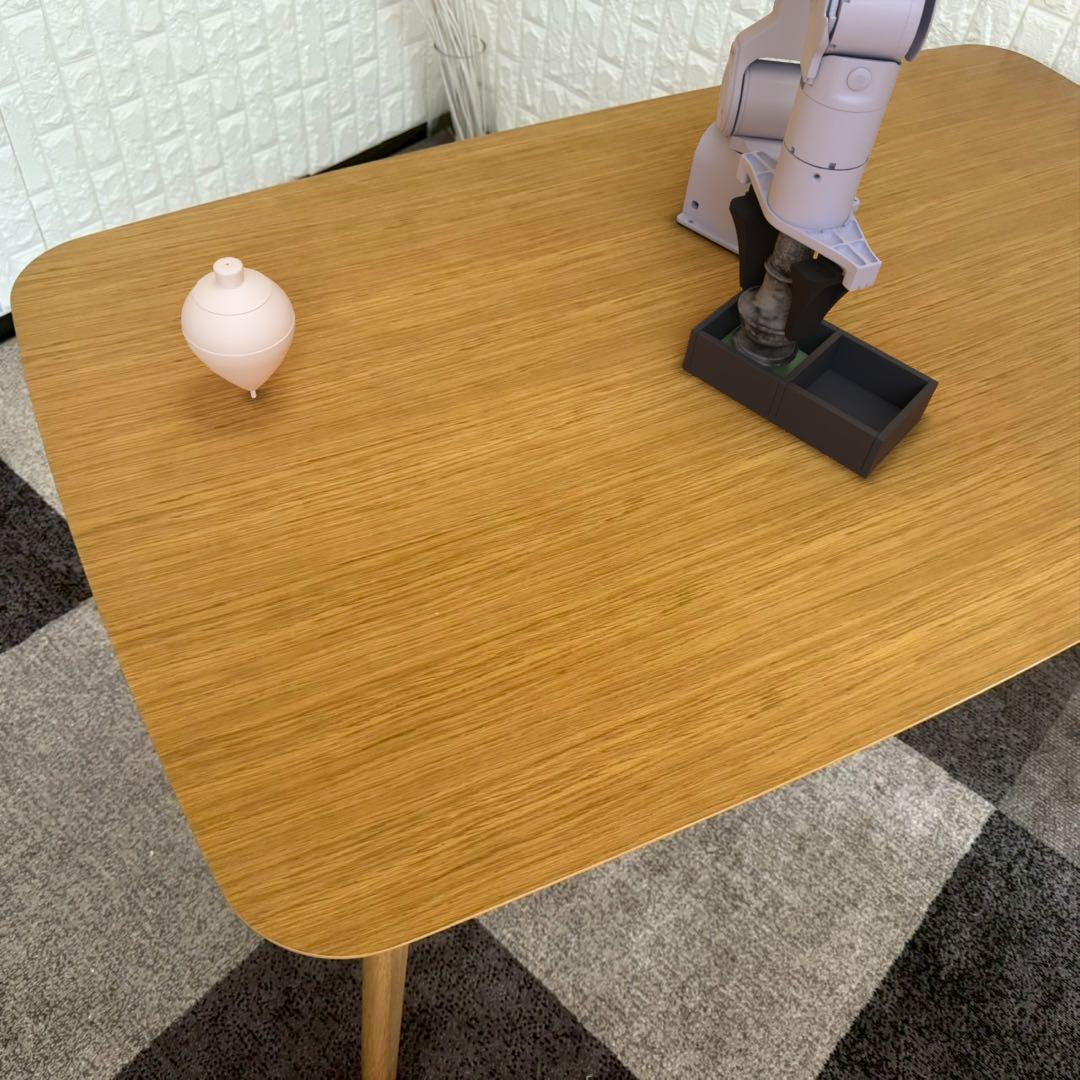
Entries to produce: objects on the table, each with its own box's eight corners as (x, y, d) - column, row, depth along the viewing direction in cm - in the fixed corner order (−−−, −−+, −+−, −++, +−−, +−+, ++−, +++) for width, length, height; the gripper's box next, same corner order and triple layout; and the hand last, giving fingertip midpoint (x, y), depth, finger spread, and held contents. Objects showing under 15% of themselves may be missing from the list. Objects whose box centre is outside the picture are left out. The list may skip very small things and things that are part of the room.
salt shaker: (781, 380, 78) (826, 247, 69) (714, 347, 80) (749, 214, 71) (814, 341, 81) (861, 210, 72) (749, 311, 83) (787, 178, 74)
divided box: (681, 368, 82) (690, 329, 79) (742, 319, 86) (753, 280, 83) (865, 478, 76) (883, 441, 72) (920, 419, 80) (939, 382, 77)
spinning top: (296, 356, 80) (276, 223, 70) (314, 423, 75) (296, 291, 66) (195, 372, 78) (161, 237, 68) (208, 442, 73) (173, 308, 64)
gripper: (943, 194, 65) (874, 357, 75) (813, 84, 73) (766, 246, 83) (854, 216, 62) (795, 381, 73) (730, 100, 70) (693, 264, 81)
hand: (775, 310), depth 78 cm, fingers closed on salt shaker, 6 cm apart
